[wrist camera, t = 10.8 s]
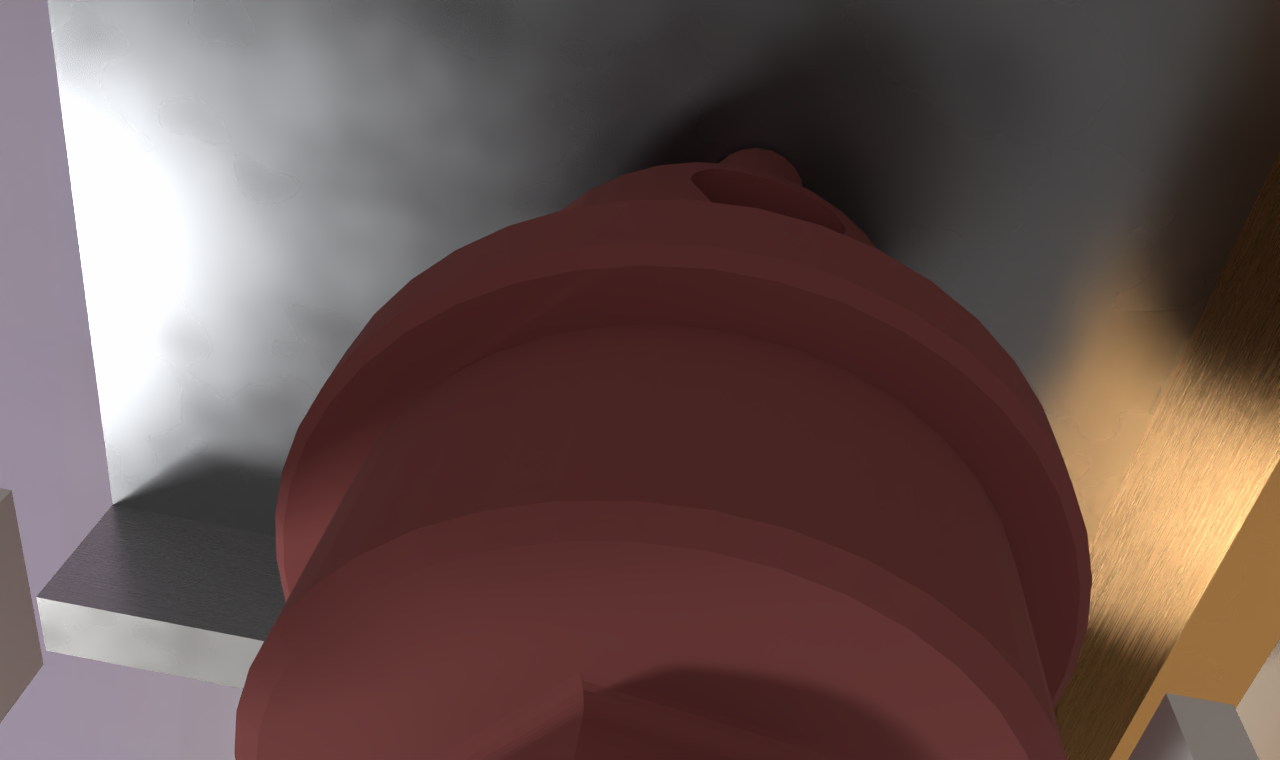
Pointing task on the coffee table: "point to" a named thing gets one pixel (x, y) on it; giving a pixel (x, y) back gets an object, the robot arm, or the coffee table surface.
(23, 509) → the coffee table surface
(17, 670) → the robot arm
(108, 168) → the grey piece
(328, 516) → the mechanical component
